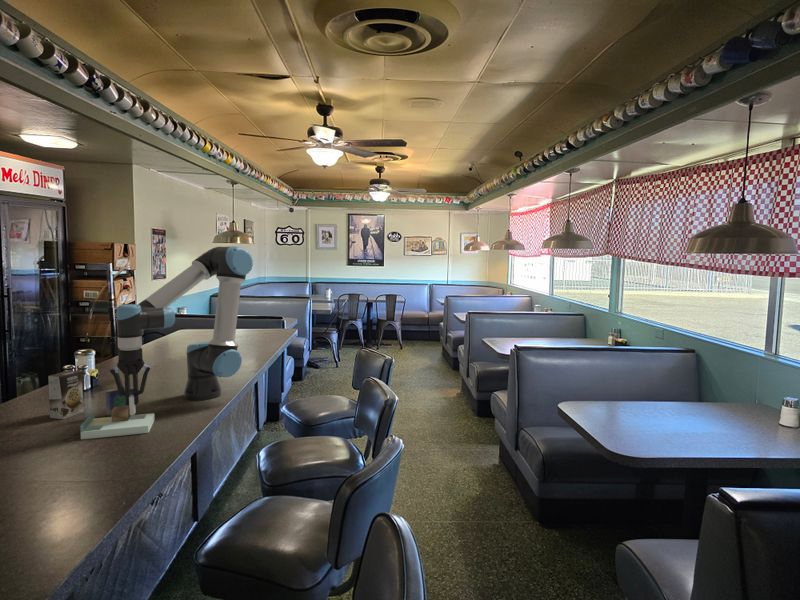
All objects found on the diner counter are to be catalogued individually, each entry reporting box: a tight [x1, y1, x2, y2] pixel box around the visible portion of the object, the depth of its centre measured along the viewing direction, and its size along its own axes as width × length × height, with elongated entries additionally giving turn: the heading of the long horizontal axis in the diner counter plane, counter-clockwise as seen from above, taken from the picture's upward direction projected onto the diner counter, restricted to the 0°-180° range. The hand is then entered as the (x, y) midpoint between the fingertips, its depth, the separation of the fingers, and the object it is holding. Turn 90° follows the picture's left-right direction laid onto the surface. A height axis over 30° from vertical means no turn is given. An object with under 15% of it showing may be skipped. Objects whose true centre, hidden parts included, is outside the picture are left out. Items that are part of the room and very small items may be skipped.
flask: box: [105, 385, 137, 417], centre depth 189 cm, size 10×3×12 cm, turn 121°
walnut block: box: [110, 406, 131, 422], centre depth 175 cm, size 5×5×4 cm
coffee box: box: [48, 370, 84, 420], centre depth 186 cm, size 9×6×16 cm
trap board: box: [79, 412, 156, 440], centre depth 172 cm, size 20×14×4 cm
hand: (132, 413), depth 177 cm, fingers closed
